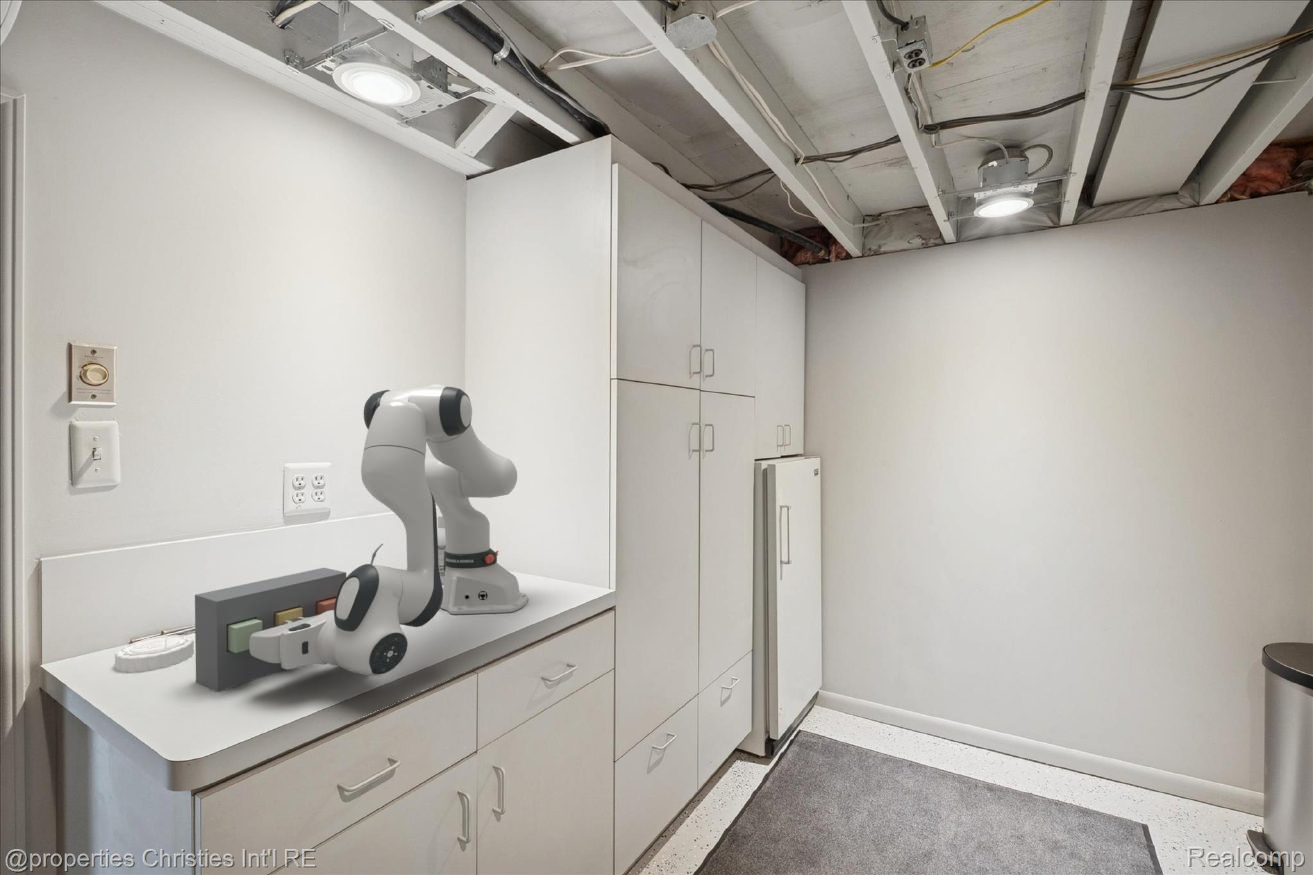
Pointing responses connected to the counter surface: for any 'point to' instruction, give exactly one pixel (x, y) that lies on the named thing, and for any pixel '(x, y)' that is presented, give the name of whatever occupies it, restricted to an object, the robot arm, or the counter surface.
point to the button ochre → (286, 615)
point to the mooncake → (154, 653)
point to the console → (248, 603)
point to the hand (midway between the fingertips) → (291, 622)
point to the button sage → (241, 634)
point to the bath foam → (441, 546)
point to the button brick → (325, 606)
